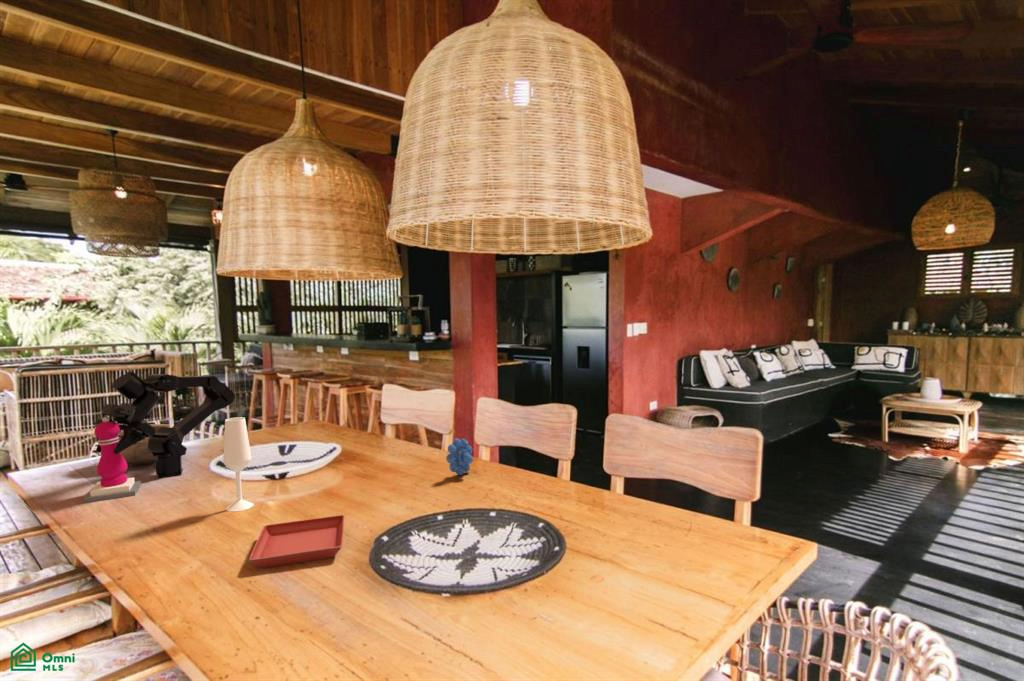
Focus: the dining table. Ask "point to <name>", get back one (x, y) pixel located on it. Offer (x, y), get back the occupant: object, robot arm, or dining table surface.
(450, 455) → the grapes
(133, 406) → the robot arm
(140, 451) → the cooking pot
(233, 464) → the champagne flute
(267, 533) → the plant saucer
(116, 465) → the pepper mill
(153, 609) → the dining table surface
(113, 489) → the grey square coaster
